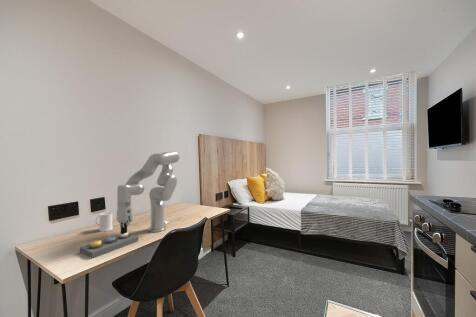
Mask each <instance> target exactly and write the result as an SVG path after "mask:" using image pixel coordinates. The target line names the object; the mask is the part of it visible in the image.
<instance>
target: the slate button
mask: <svg viewBox="0 0 476 317" xmlns="http://www.w3.org/2000/svg"><path fill="white" fill-rule="evenodd" d="M116 236H117V235H109V236H106V237H105V239H106V242H113V241H115V240H116Z"/></svg>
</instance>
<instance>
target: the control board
mask: <svg viewBox="0 0 476 317" xmlns="http://www.w3.org/2000/svg"><path fill="white" fill-rule="evenodd" d="M115 236H116V240H115V241H113V242H106V238H105V239H101V241H102V243H101V246H98V247H91V243H89V244H86V245H82V246H80V247H79V253H80V254H82V255H84V256H86V257H88V258H90V257H91V258H90V259H92V258H93V259H95V258H97V257H101V256H103V255H105V254H108V253H110V252H114V251H116V250H120V249H122V248H124V247H127V246H129V245H133V244H134V243H137V242H139V236H137V235H134V234H130V233H129V236H128V237H124V238H120V234H117V235H115Z"/></svg>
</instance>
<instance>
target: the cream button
mask: <svg viewBox="0 0 476 317" xmlns="http://www.w3.org/2000/svg"><path fill="white" fill-rule="evenodd" d="M129 234H130V233H129V231H127V233H124V234H121V232H120V233H119V235H120V238H124V237H128V236H129Z"/></svg>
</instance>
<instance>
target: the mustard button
mask: <svg viewBox="0 0 476 317" xmlns="http://www.w3.org/2000/svg"><path fill="white" fill-rule="evenodd" d="M101 240H102V239H101ZM101 240H100V239H99V240H98V239H97V240H96V239H95V240H93V241H91V242H90V244H91V247H98V246H101V243H102V241H101Z"/></svg>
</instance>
